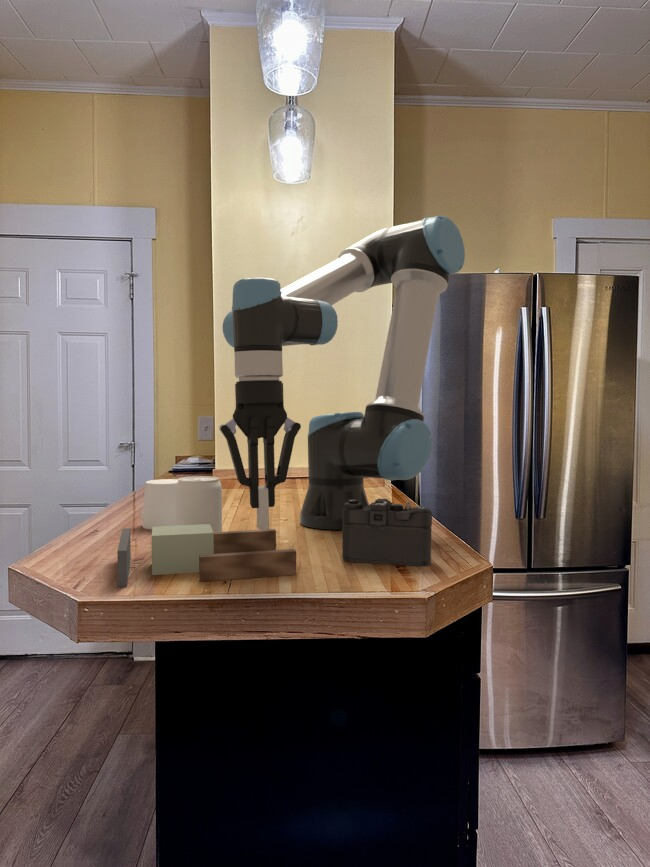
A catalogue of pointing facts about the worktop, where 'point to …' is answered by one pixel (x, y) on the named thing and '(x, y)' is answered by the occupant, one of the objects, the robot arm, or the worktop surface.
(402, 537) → the camera
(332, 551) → the worktop surface
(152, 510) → the mug
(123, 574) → the bar
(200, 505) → the beverage can
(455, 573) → the worktop surface
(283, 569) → the pair of brown rails
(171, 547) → the block
